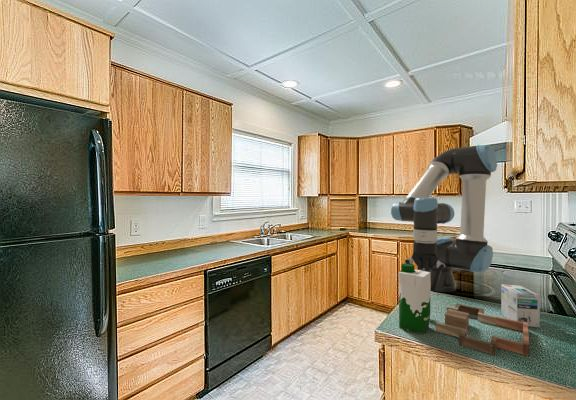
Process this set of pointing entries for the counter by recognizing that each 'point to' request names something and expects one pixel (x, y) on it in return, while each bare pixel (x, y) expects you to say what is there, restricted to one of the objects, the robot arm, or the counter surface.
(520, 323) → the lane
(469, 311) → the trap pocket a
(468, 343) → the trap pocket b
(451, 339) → the counter surface
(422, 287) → the milk carton
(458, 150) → the robot arm
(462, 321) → the block
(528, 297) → the light bulb box
